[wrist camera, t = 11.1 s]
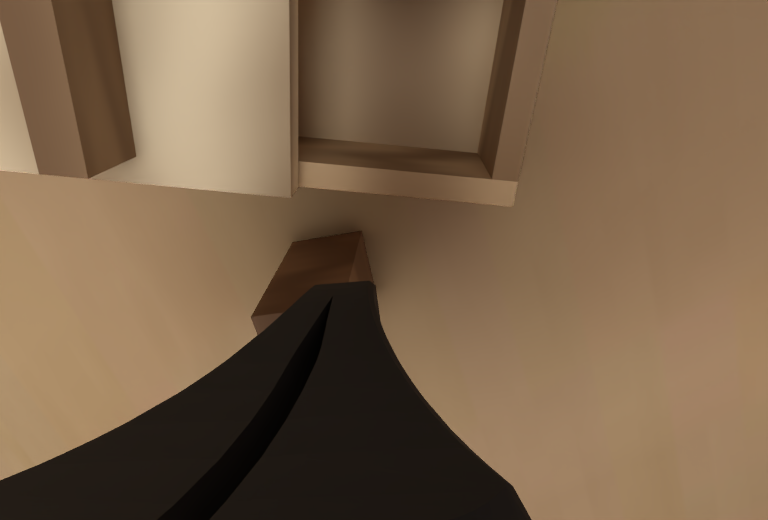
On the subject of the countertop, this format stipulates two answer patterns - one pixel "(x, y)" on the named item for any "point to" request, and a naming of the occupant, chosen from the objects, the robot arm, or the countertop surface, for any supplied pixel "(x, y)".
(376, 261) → the countertop surface
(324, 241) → the brown wooden block
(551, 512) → the countertop surface
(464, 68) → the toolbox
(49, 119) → the lid
